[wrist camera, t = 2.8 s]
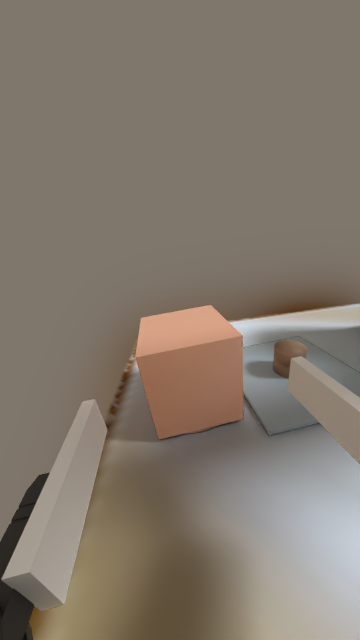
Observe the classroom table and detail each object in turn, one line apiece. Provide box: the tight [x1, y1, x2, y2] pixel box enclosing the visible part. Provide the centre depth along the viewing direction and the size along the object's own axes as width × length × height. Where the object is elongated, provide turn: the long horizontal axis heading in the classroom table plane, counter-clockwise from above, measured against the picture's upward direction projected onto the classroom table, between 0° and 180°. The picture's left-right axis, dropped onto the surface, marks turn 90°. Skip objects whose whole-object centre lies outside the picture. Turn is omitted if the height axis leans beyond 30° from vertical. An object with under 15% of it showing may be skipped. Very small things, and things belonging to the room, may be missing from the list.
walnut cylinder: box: [273, 340, 307, 379], centre depth 27 cm, size 4×4×4 cm
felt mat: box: [243, 336, 360, 435], centre depth 28 cm, size 16×16×1 cm
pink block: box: [136, 305, 244, 439], centre depth 23 cm, size 10×10×11 cm
